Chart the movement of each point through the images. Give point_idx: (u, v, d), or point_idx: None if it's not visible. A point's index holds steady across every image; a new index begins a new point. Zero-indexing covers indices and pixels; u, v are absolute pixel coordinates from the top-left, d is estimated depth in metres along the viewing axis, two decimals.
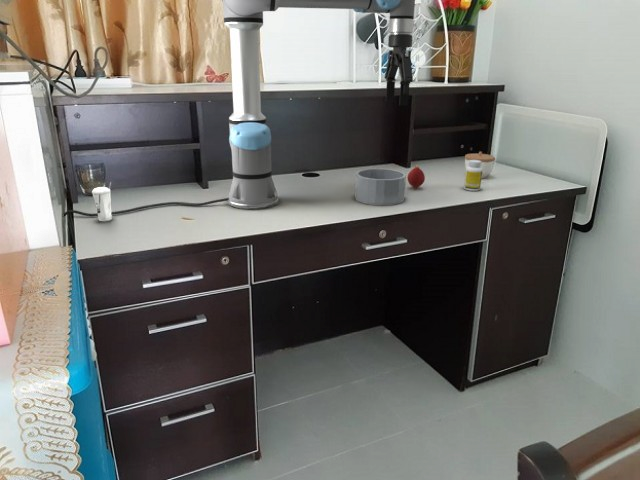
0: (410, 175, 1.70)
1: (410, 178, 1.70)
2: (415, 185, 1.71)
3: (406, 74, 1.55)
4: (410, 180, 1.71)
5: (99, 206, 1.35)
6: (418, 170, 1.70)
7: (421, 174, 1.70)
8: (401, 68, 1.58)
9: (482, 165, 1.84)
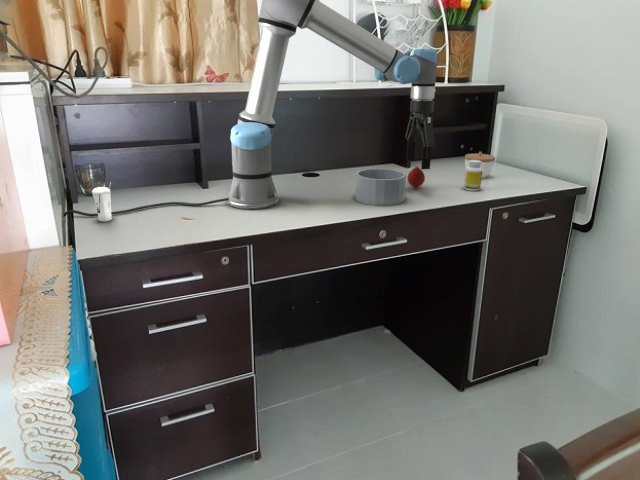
0: (410, 175, 1.70)
1: (410, 178, 1.70)
2: (415, 185, 1.71)
3: (428, 141, 1.58)
4: (410, 180, 1.71)
5: (99, 206, 1.35)
6: (418, 170, 1.70)
7: (421, 174, 1.70)
8: (423, 134, 1.62)
9: (482, 165, 1.84)
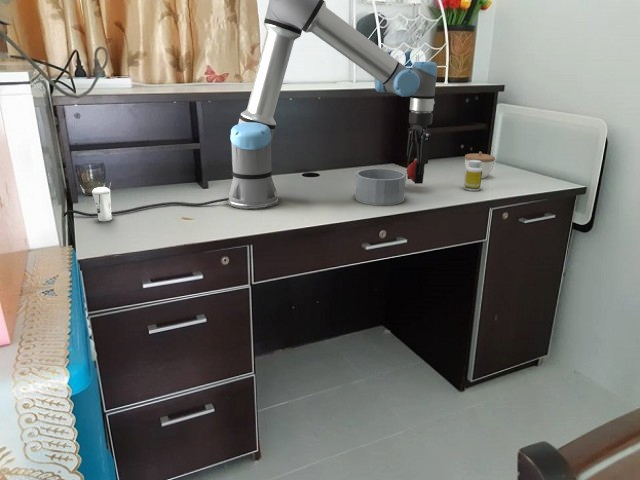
0: (409, 168, 1.70)
1: (409, 171, 1.69)
2: (414, 178, 1.70)
3: (422, 157, 1.63)
4: (409, 173, 1.70)
5: (99, 206, 1.35)
6: None
7: None
8: (419, 148, 1.65)
9: (482, 165, 1.84)
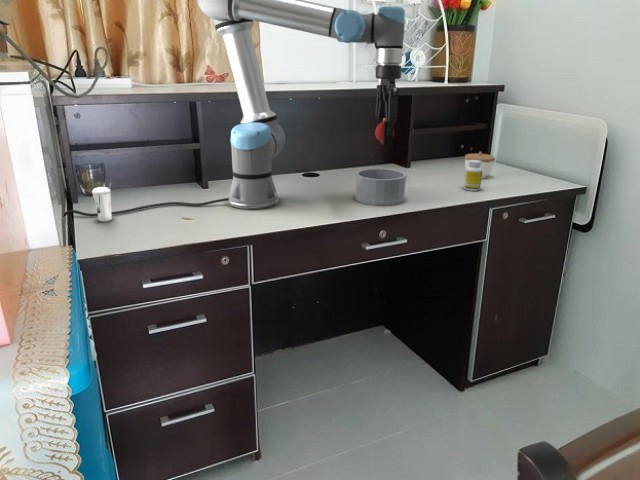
0: (378, 129, 1.53)
1: (378, 132, 1.53)
2: None
3: (391, 115, 1.47)
4: (378, 134, 1.53)
5: (99, 206, 1.35)
6: None
7: None
8: (387, 105, 1.49)
9: (482, 165, 1.84)
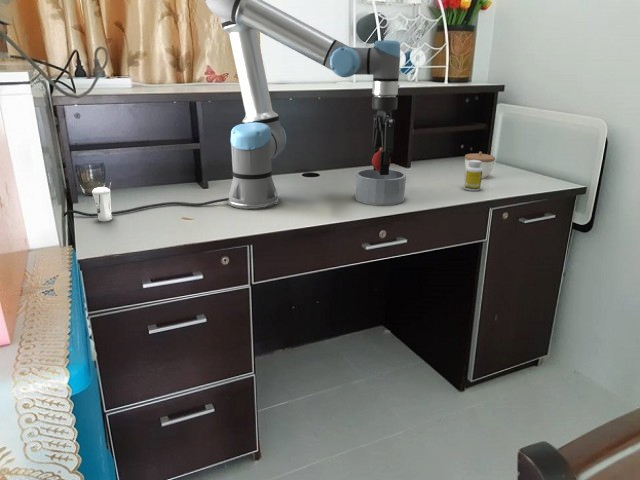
0: (374, 158, 1.55)
1: (374, 161, 1.55)
2: None
3: (387, 146, 1.49)
4: (374, 164, 1.56)
5: (99, 206, 1.35)
6: None
7: None
8: (383, 136, 1.51)
9: (482, 165, 1.84)
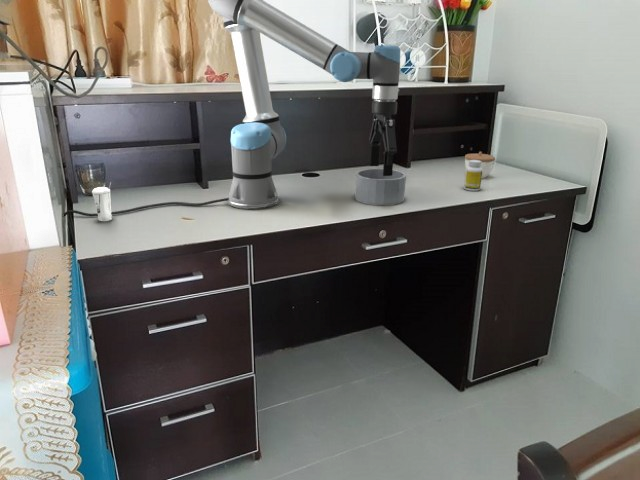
0: None
1: None
2: None
3: (390, 145, 1.46)
4: None
5: (99, 206, 1.35)
6: None
7: None
8: (385, 137, 1.49)
9: (482, 165, 1.84)
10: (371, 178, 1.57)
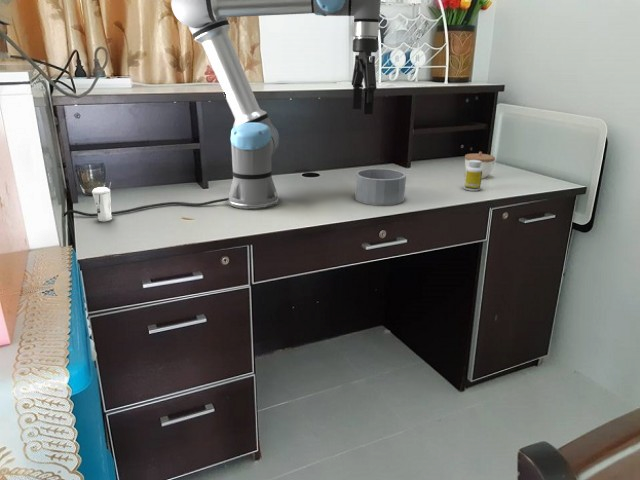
0: None
1: None
2: None
3: (369, 81, 1.45)
4: None
5: (99, 206, 1.35)
6: None
7: None
8: (365, 74, 1.48)
9: (482, 165, 1.84)
10: (371, 178, 1.57)
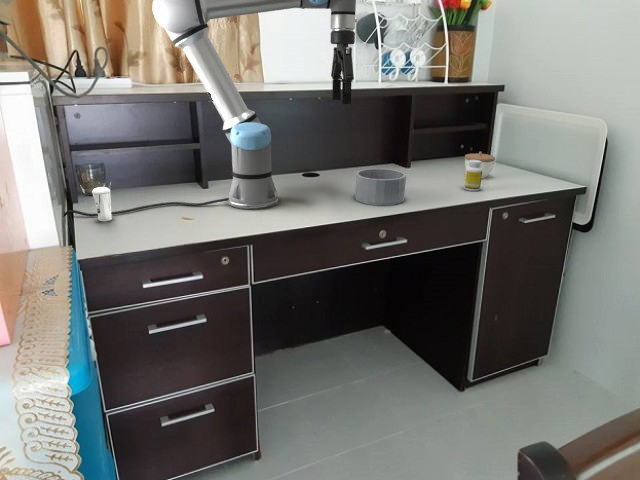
0: None
1: None
2: None
3: (347, 72, 1.50)
4: None
5: (99, 206, 1.35)
6: None
7: None
8: (343, 65, 1.53)
9: (482, 165, 1.84)
10: (371, 178, 1.57)
